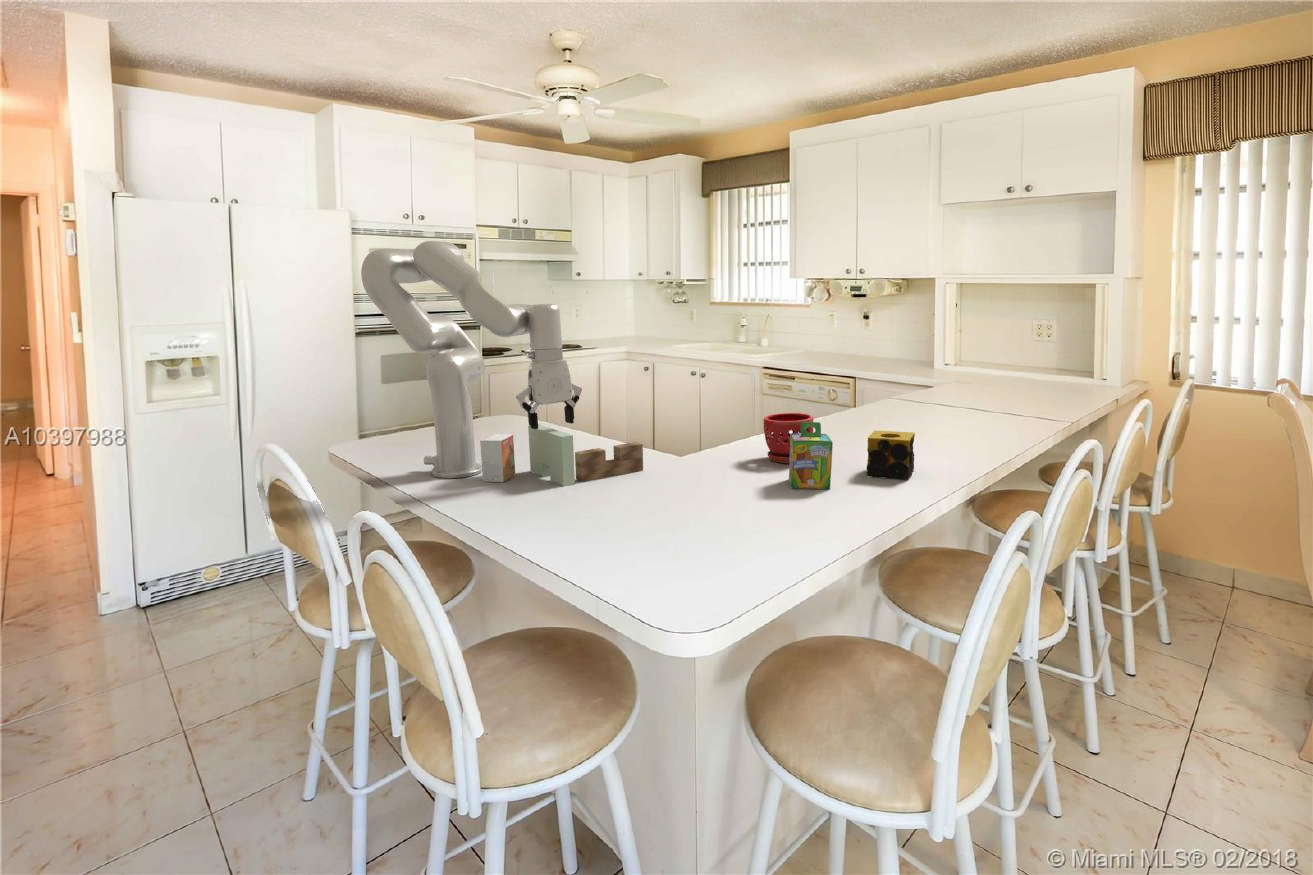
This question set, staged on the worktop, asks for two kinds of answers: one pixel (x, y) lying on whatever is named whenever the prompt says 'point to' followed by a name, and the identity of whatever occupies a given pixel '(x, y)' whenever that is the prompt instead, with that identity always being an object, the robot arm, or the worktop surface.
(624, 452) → the walnut board
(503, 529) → the worktop surface
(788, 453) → the plant pot
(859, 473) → the worktop surface
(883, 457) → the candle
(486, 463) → the small box
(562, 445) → the green board
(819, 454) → the chalk box
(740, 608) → the worktop surface
